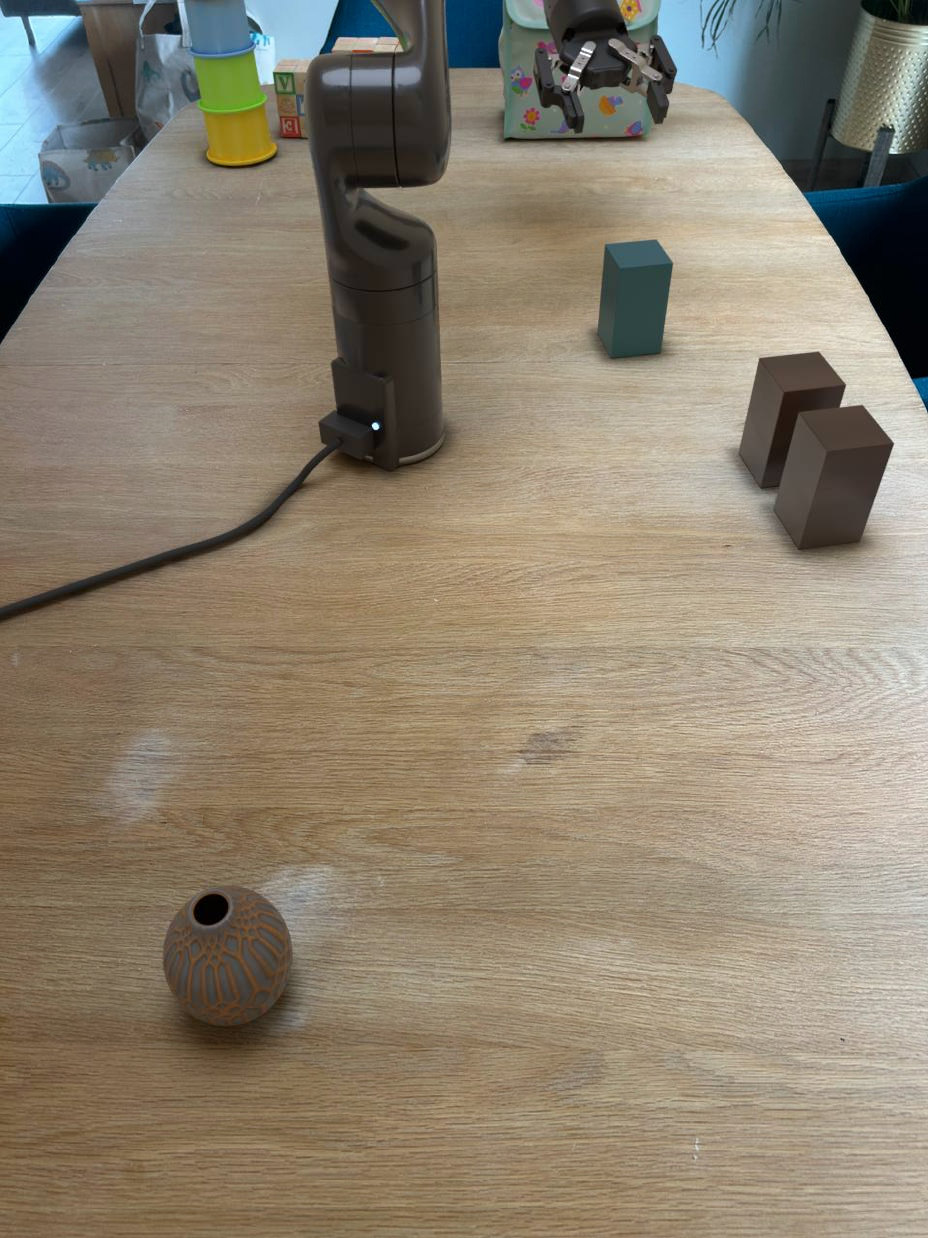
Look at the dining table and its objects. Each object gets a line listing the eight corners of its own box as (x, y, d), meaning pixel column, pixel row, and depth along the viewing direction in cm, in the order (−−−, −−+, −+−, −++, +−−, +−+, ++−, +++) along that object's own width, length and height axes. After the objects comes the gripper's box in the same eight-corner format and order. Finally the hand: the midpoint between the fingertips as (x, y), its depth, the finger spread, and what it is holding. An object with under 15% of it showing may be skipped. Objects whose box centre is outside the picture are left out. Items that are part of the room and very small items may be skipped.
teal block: (661, 352, 106) (673, 262, 99) (610, 358, 106) (619, 268, 98) (645, 327, 110) (656, 238, 103) (597, 332, 109) (604, 243, 102)
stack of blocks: (280, 138, 152) (268, 48, 143) (289, 123, 156) (278, 35, 147) (420, 141, 150) (416, 49, 141) (425, 126, 154) (421, 36, 146)
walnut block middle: (818, 481, 90) (846, 384, 83) (760, 488, 90) (783, 391, 82) (793, 446, 94) (819, 350, 87) (738, 452, 93) (758, 357, 86)
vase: (185, 934, 60) (151, 855, 54) (301, 923, 60) (280, 844, 54) (172, 1050, 55) (133, 978, 49) (298, 1037, 56) (274, 965, 49)
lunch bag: (496, 146, 148) (498, -71, 129) (498, 107, 159) (500, -97, 140) (652, 146, 147) (677, -73, 128) (643, 107, 158) (665, -99, 139)
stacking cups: (195, 165, 144) (136, -131, 120) (223, 139, 152) (172, -145, 127) (262, 170, 143) (216, -129, 118) (287, 144, 150) (248, -144, 125)
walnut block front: (860, 541, 84) (894, 443, 77) (798, 549, 84) (827, 451, 77) (832, 501, 88) (862, 404, 81) (773, 509, 87) (798, 411, 80)
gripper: (521, -13, 104) (557, 97, 97) (653, -27, 105) (697, 81, 99) (515, 53, 110) (549, 160, 104) (639, 39, 112) (679, 144, 106)
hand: (621, 121), depth 102 cm, fingers open, 8 cm apart
